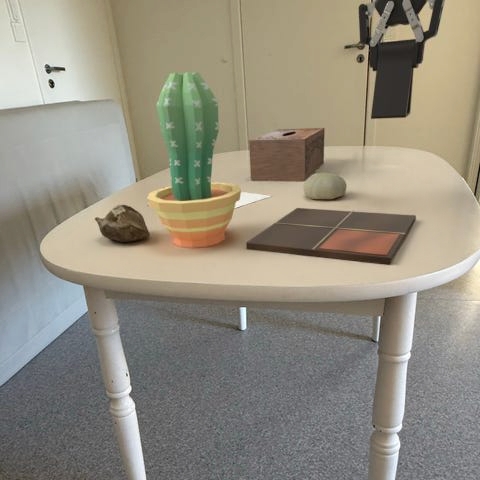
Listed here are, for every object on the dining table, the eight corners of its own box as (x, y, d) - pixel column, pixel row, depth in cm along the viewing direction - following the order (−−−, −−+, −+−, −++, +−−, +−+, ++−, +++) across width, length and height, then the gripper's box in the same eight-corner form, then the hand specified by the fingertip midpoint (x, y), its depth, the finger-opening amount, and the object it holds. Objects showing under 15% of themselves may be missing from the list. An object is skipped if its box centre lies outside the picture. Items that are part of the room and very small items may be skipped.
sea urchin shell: (331, 180, 102) (344, 157, 95) (342, 210, 100) (357, 189, 93) (294, 185, 100) (305, 162, 93) (304, 215, 98) (317, 194, 91)
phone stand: (405, 117, 78) (413, 37, 73) (370, 119, 81) (375, 41, 75) (410, 113, 86) (418, 40, 80) (378, 114, 88) (383, 43, 82)
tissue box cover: (277, 163, 139) (276, 129, 135) (323, 163, 135) (324, 127, 130) (250, 180, 118) (248, 140, 114) (304, 181, 113) (304, 139, 109)
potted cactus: (250, 225, 81) (242, 68, 70) (235, 254, 68) (222, 66, 56) (170, 226, 84) (149, 75, 72) (140, 254, 71) (108, 75, 59)
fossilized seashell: (84, 226, 78) (110, 247, 72) (98, 191, 77) (126, 209, 71) (120, 238, 84) (147, 258, 78) (134, 205, 83) (162, 223, 77)
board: (415, 221, 78) (416, 214, 77) (390, 264, 61) (390, 257, 60) (296, 212, 87) (296, 207, 87) (246, 248, 70) (245, 242, 70)
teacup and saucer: (233, 196, 103) (232, 178, 101) (209, 203, 98) (207, 184, 96) (207, 192, 109) (205, 175, 107) (183, 199, 103) (180, 181, 102)
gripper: (456, -54, 71) (441, 66, 79) (366, -37, 78) (360, 72, 86) (451, -64, 66) (435, 66, 74) (354, -45, 72) (349, 73, 80)
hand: (394, 69), depth 80 cm, fingers closed on phone stand, 6 cm apart
